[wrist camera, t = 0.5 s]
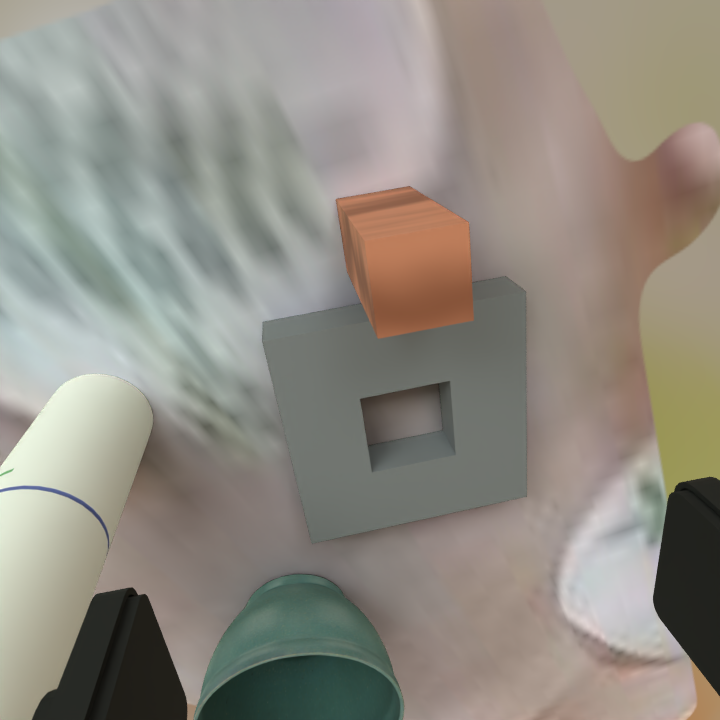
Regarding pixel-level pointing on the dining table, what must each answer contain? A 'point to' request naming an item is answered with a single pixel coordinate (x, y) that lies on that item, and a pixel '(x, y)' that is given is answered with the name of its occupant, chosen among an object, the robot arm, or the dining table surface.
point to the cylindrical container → (61, 526)
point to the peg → (407, 260)
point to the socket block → (395, 373)
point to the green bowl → (300, 659)
